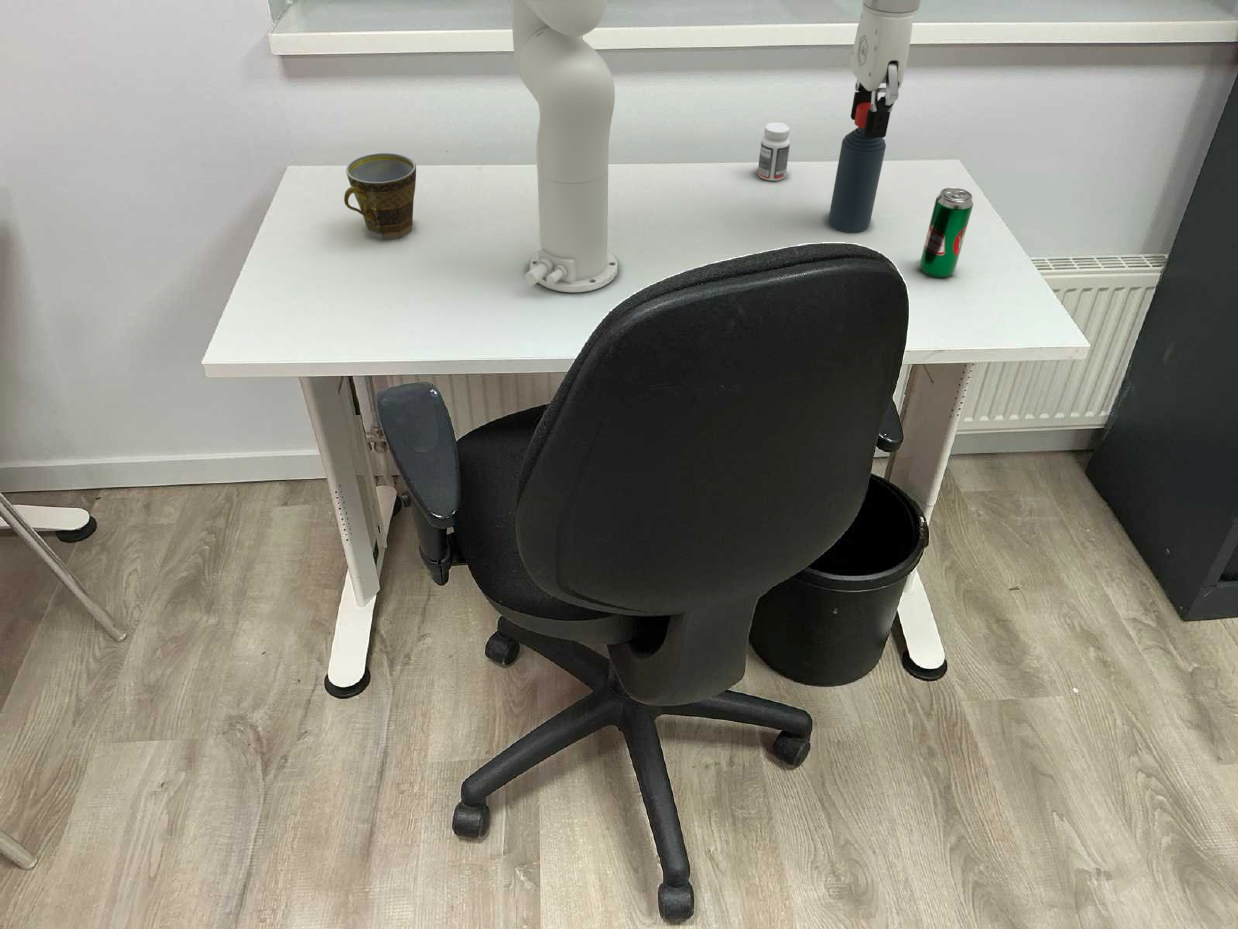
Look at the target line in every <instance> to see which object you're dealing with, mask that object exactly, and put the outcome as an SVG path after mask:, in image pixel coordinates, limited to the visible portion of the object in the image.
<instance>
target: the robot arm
mask: <svg viewBox="0 0 1238 929" xmlns="http://www.w3.org/2000/svg"><path fill="white" fill-rule="evenodd" d="M607 2H608V0H510V9H511V29H512V45H513V56H514V64H515V67H516V68H515V69H516V71H517V74H518V76H519V79H520V80H521V81H522V83H523V85H524V87H526V89H527V90H528V91H529V92H530V94H531V95H532V97H533V98H534V100H535V101H536V102H537V104H538V110H539V122H538V129H537V134H536V135H537V136H536V154H535V155H536V171H537V172H536V174H537V198H538V199H537V200H538V228H539V230H538V231H539V250H538V251H536V252H535V253H534V254H533V255H532V257H531V258H530V261H529V270H528V271H527V272H525V274H524V281H525V282H526V283H527V284H528V285H529V286H535V285H537V283H538V284H539V285H541V286H543V287H545V288H547V289H550V290H553V291H557V292H562V293H586V292H591V291H594V290H598V289H601V288H603V287H604V286H607V285H608V284H610V283H611V282H612V281H613V280H614V279H615V278H616V277H617V274H618V268H619V267H618V260H617V258H616V256H615V255H614V254H613V253H612V252H611V251H609V250H608V224H609V223H608V220H609V218H608V217H609V216H608V214H609V150H610V133H611V125H612V121H613V120H612V119H613V114H614V109H615V101H616V89H615V88H616V87H615V82H614V78H613V75H612V72H611V70H610V68H609V66H608V65H607V63H606V61H605V60H604V59H603V57H602V56H601V55H600V53H598V52H597V51H596V49H594V48H593V46H591V45H590V44H589V43H588V42H587V41H586V40H584V35H587V34H589V33H590V32H592V31H593V30H594V29H595V28H597V27H598V25H599V24H600V23H601V21H602V19H603V18H604V14H605V12H606V11H605V10H606V8H607ZM920 5H921V0H862V5H861V7H862V11H861V14H860V17H859V21H858V25H857V29H856V34H855V37H854V41H853V42H854V43H853V47H852V52H851V57H850V62H849V67H850V71H851V72H852V74H853V75H854V77H855V78H856V81H855V85H854V90H855V92H854V95H853V100H852V106H851V110H850V118H851V120H852V121H854V120H855V115H856V109H857V106H858V105H859V104H861V103H871V109H868V112H867V117H866V122H865V128H864V133H863V136H864V137H865V138H883V139H884V138H885V137H886V135H887V131H888V127H889V122H890V116H891V112H892V111H893V108H894V107H893V106H894V104H895V102H896V101H897V100H898V99H899V89H900V88H901V87H902V85H903V82H904V79H905V78H904V77H905V74H906V70H907V64H908V58H909V52H910V46H911V40H912V32H913V23H914V16H915V15H917V14H918V13H919V11H920V7H921V6H920ZM881 84H885V87H880V86H881ZM879 93H885V94H884V96H880V97H879Z"/></svg>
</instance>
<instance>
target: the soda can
mask: <svg viewBox="0 0 1238 929" xmlns="http://www.w3.org/2000/svg"><path fill="white" fill-rule="evenodd" d="M973 207H974V202H973V195H972V193H971V192H969V191H968V190H966V189H963V188H959V187H945V188H943V189H941V190H940V192H939V194H938V195H937V196H936V197H935V200H934V205H933V208H932V213H931V217H930V220H929V225H928V229H927V233H926V238H925V240H924V241H925V242H924V245H923V249H922V253H921V258H920V261H919V267H920V270H921V271H922V272H923V273H924V274H926V275H927V276H929V277H933V278H941V279H942V278H947V277H950V276H951V275H953V274H954V273H955V271H956V268H957V265H958V261H959V257H960V254H961V249H962V247H963V242H964V239H965V236H966V232H967V229H968V225H969V222H970V218H971V214H972V210H973Z"/></svg>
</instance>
